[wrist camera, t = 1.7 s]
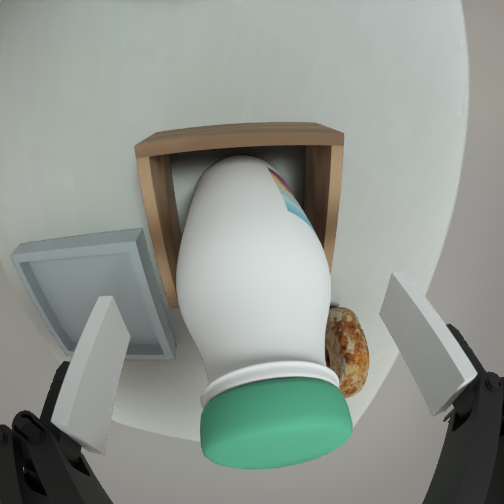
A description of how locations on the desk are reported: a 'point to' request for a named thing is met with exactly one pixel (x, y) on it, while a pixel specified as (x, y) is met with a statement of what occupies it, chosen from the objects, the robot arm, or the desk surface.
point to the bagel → (346, 350)
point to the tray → (97, 288)
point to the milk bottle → (259, 320)
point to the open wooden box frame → (227, 136)
